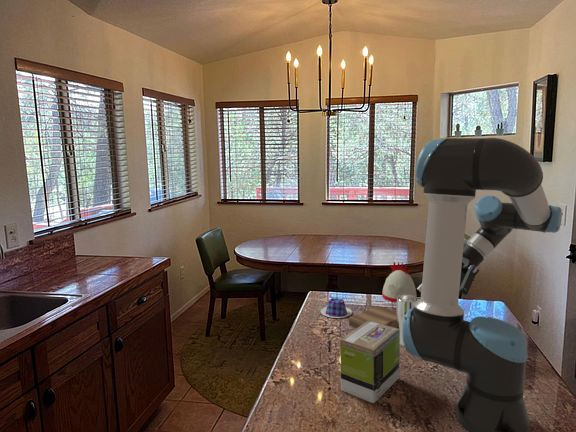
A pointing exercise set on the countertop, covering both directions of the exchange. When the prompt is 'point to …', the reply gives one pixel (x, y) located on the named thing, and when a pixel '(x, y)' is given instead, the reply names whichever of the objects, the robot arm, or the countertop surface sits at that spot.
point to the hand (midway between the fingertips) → (429, 298)
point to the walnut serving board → (374, 317)
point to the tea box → (370, 360)
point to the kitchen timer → (398, 284)
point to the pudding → (336, 308)
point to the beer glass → (403, 310)
